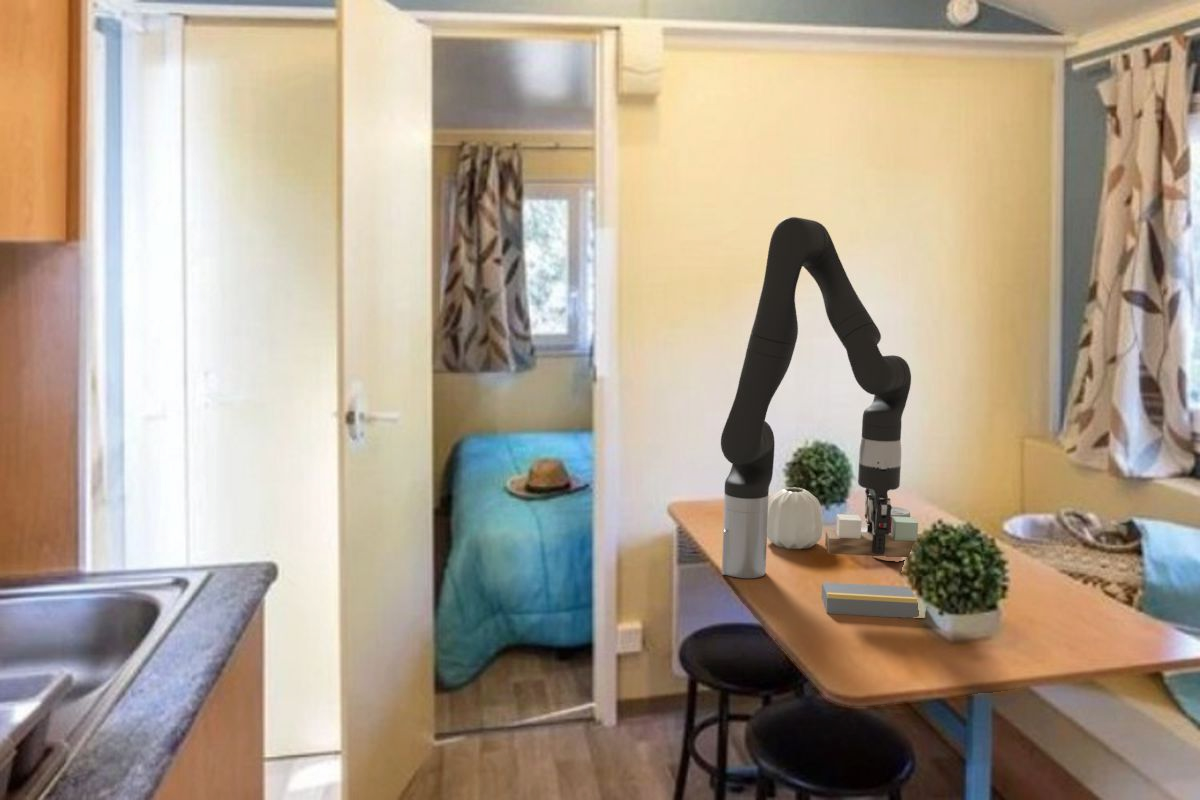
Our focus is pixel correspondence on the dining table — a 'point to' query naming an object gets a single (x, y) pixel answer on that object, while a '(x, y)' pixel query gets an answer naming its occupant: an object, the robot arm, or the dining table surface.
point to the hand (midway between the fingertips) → (875, 548)
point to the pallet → (866, 545)
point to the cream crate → (848, 526)
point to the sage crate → (904, 528)
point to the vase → (794, 519)
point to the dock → (869, 600)
